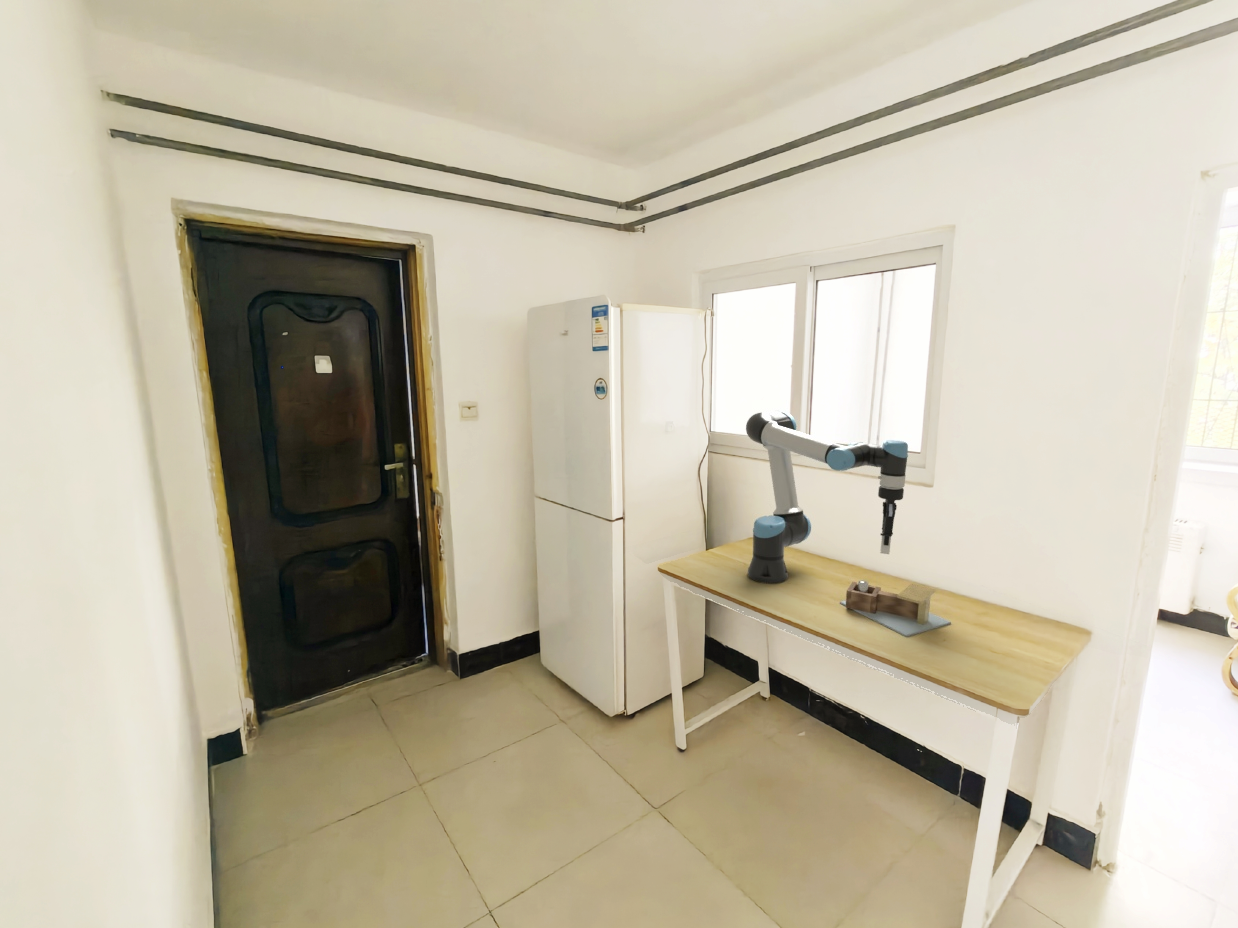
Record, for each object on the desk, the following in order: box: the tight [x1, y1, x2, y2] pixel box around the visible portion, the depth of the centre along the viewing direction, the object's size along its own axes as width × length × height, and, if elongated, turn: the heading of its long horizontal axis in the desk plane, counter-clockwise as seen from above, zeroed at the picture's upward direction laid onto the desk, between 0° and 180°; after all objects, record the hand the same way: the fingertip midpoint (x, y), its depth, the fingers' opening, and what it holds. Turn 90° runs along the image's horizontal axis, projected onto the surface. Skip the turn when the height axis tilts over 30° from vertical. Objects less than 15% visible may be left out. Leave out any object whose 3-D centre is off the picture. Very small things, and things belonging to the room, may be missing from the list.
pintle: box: [858, 579, 869, 593], centre depth 181 cm, size 3×3×8 cm
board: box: [839, 599, 952, 638], centre depth 176 cm, size 26×20×1 cm
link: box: [845, 581, 919, 619], centre depth 176 cm, size 21×9×6 cm, turn 55°
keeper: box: [897, 583, 936, 625], centre depth 169 cm, size 7×13×10 cm, turn 133°
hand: (884, 552), depth 183 cm, fingers closed
